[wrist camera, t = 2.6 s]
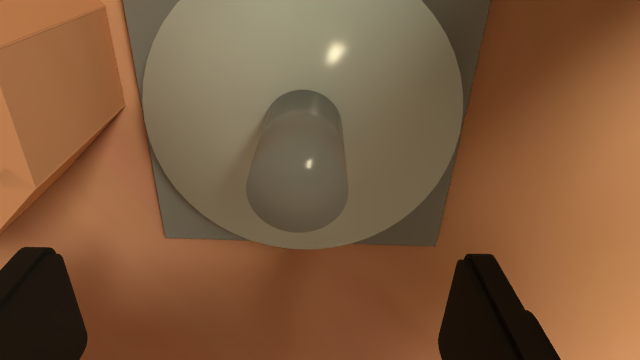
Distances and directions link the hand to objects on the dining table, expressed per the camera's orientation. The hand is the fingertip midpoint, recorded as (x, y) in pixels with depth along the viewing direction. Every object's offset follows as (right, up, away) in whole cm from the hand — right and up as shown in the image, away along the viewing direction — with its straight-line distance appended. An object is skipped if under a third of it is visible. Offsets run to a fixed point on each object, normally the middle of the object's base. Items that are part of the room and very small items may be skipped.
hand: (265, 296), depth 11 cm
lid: (+1, +6, +8) cm, 10 cm away
